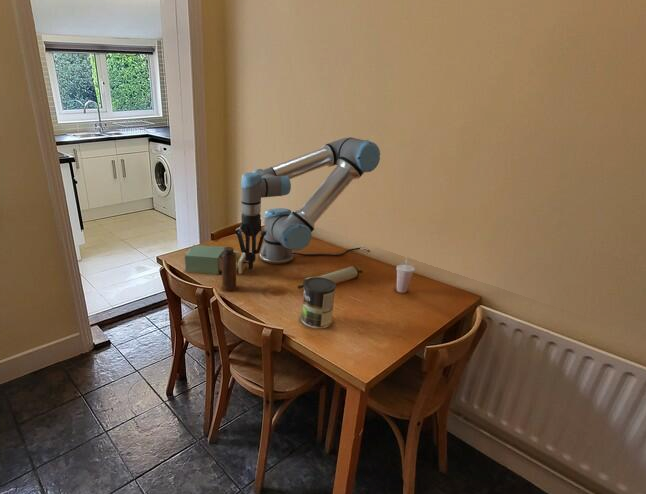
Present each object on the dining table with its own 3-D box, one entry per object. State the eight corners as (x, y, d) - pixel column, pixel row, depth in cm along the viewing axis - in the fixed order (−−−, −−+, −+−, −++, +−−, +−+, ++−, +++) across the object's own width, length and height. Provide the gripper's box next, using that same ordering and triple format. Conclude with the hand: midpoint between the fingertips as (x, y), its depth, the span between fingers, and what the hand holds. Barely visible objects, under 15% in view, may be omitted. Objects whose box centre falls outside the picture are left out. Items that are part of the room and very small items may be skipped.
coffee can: (305, 329, 135) (307, 291, 129) (298, 313, 144) (300, 277, 138) (335, 328, 135) (339, 290, 129) (327, 312, 145) (330, 276, 139)
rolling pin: (301, 296, 156) (302, 284, 153) (293, 290, 160) (293, 278, 158) (366, 278, 169) (367, 267, 167) (356, 273, 173) (358, 262, 171)
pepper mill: (237, 286, 164) (237, 246, 157) (234, 292, 159) (233, 251, 152) (224, 284, 165) (223, 245, 158) (221, 290, 160) (219, 250, 153)
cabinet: (225, 262, 185) (225, 247, 182) (218, 274, 174) (217, 257, 170) (194, 260, 188) (194, 244, 184) (185, 271, 177) (184, 255, 173)
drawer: (255, 263, 181) (256, 251, 179) (250, 274, 171) (251, 262, 169) (217, 260, 185) (217, 248, 182) (210, 271, 175) (209, 258, 172)
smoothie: (410, 288, 161) (416, 255, 155) (410, 295, 155) (417, 261, 149) (392, 285, 163) (398, 253, 157) (392, 292, 157) (398, 259, 151)
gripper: (268, 211, 162) (267, 265, 172) (236, 209, 165) (237, 263, 175) (266, 217, 156) (264, 273, 166) (232, 215, 158) (233, 270, 168)
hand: (250, 268), depth 170 cm, fingers closed
